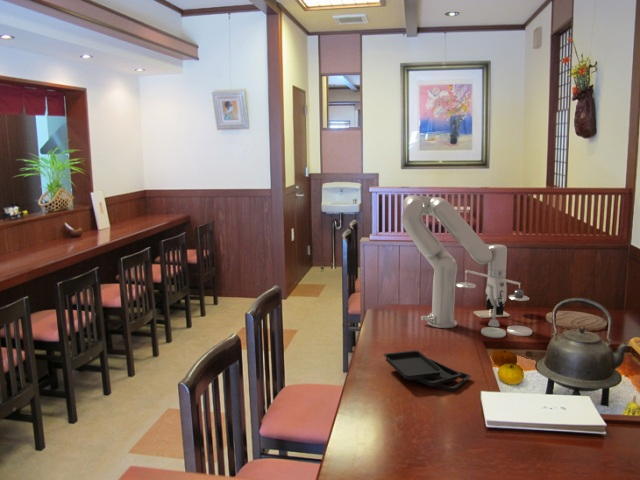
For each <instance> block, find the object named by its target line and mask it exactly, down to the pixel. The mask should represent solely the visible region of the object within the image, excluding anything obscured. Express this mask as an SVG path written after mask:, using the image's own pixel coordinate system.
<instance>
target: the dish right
mask: <svg viewBox="0 0 640 480" xmlns="http://www.w3.org/2000/svg"><path fill="white" fill-rule="evenodd" d="M506 333H508V334H510V335H513V336H519V337H528V336H531V335H532V334H533V329H532V328H530V327H527V326H523V325H510V326H507V330H506Z"/></svg>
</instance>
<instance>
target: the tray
mask: <svg viewBox="0 0 640 480" xmlns="http://www.w3.org/2000/svg"><path fill="white" fill-rule="evenodd" d="M383 356H384V357H385V361H386V362H387V364H389V365H390V366H391V367H392V368H393V369H394V370H395V371H396V372H397V373H398V374H400V375H401V376H402V378H404V379H405V380H410V381H413V382H417V383H420V384H424V385H426V386H429V387H434V388H437V389H441V390H444V391H447V392H454V391H456V390H457V389H458V388H459V387H461V386H462V385H464V384H465V383H466V382H467V381H468V380H469V378H471V377H472V376H471V374H469V373H465V372H461V371H457V370H454V369H452V368H450V367H448V366H447V365H444V364H442V363H440V362H437V361H436V360H433V359H432V358H430V357H427V356H426V355H425V354H423V353H422V352H421V351H419V350H414V349H413V350H407V351H397V352H389V353H384V354H383ZM459 378H462V380H460V381H458V382H457V383H456V384H454V386H449V385H445V384H446V383H449V382H453V381H456V380H458V379H459Z"/></svg>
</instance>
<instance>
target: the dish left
mask: <svg viewBox="0 0 640 480" xmlns="http://www.w3.org/2000/svg"><path fill="white" fill-rule="evenodd" d="M480 334H481V335H483V336H485V337H488V338H495V339H496V338H497V339H499V338H501V339H502V338H505V337H506V335H507V330H505V329H503V328H499V327H493V326H488V327H487V326H486V327H481V330H480Z"/></svg>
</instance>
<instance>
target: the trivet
mask: <svg viewBox="0 0 640 480" xmlns="http://www.w3.org/2000/svg"><path fill="white" fill-rule="evenodd" d="M556 311H557V313H556V325H557V326H559V327H558V328H560V327H565V328H571V329H577V328H578V327H579V326H585V328H586V329H587V330H597V329H602V328H605V327H606V326H607V325H608V324H607V323H608V321H607V320H606V319H605V318H603V317H601V316H598V315H596V314H595V315H594V314H591V313H587V312H581V311H574V310H556ZM552 312H553V311H551V312H548V313H546V315H545V321H546V322H547V323H548V324H550V325H552ZM557 326H556V327H557ZM607 327H608V326H607ZM607 327H606V328H607ZM606 328H605V329H606Z"/></svg>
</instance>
